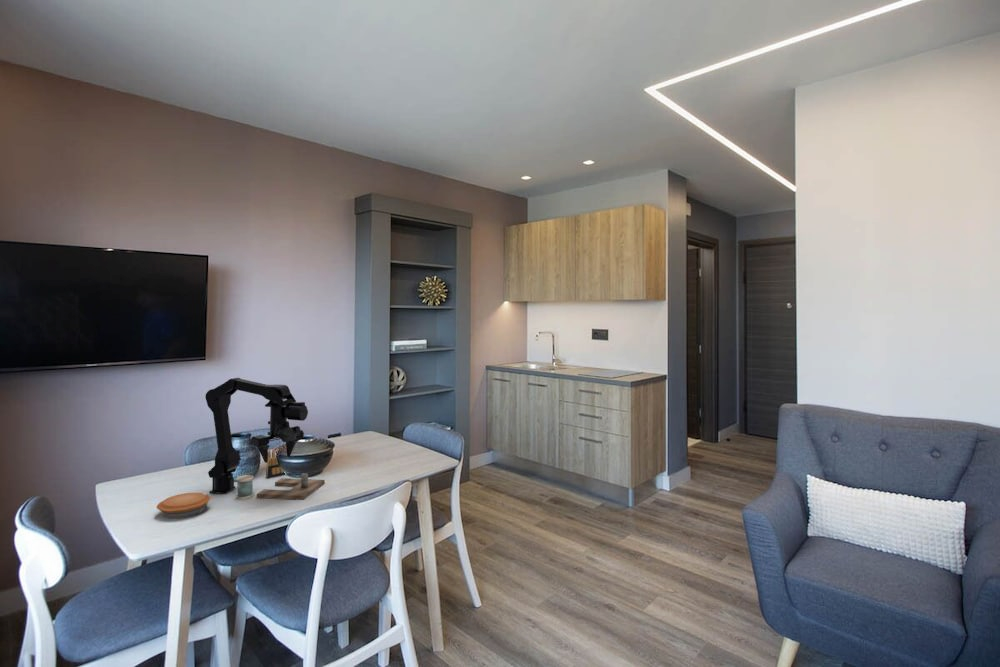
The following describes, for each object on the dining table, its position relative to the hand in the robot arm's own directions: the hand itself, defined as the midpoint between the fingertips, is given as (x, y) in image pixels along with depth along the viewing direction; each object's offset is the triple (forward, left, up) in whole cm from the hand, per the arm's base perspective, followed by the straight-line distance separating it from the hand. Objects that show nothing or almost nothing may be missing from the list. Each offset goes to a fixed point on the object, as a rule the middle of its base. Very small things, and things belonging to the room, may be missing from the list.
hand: (277, 459), depth 184 cm
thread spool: (-11, -3, -13) cm, 17 cm away
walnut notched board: (+3, +5, -13) cm, 14 cm away
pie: (-23, -19, -14) cm, 33 cm away
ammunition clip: (-11, +22, -13) cm, 28 cm away
